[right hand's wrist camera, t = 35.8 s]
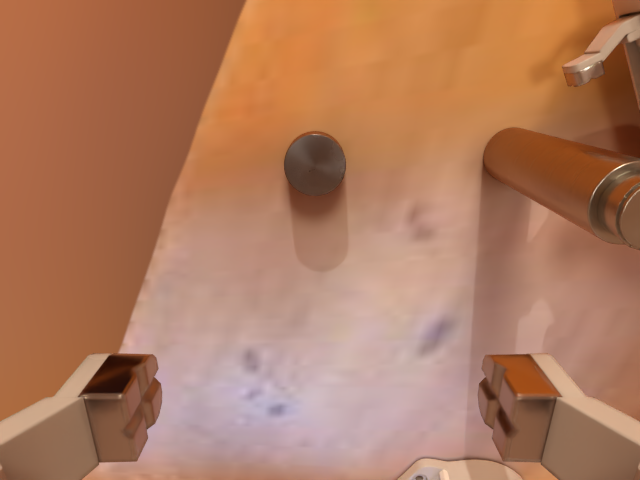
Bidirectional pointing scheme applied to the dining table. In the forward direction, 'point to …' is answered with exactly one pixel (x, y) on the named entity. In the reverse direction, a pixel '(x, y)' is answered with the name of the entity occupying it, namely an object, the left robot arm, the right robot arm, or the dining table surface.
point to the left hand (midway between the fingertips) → (587, 138)
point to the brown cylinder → (571, 181)
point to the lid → (315, 163)
